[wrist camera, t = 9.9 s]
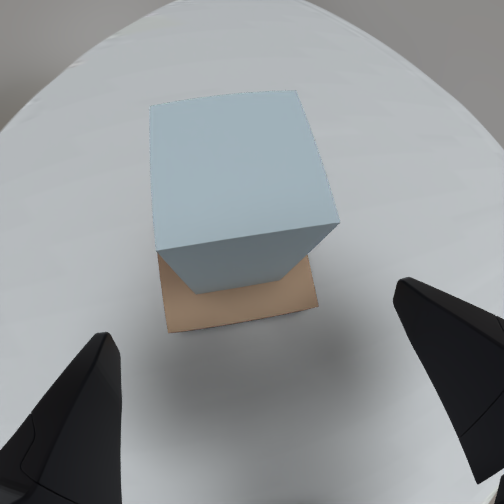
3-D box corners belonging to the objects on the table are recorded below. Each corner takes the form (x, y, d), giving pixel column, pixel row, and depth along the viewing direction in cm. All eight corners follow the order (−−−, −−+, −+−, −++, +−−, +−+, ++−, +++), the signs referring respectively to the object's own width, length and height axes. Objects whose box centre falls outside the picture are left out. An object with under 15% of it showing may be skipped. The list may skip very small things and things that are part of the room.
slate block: (279, 280, 18) (340, 222, 8) (195, 294, 17) (155, 250, 7) (263, 202, 19) (295, 90, 9) (184, 214, 18) (149, 106, 9)
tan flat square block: (302, 310, 21) (318, 306, 17) (179, 332, 20) (168, 333, 16) (277, 197, 23) (287, 172, 20) (164, 214, 22) (152, 191, 18)
